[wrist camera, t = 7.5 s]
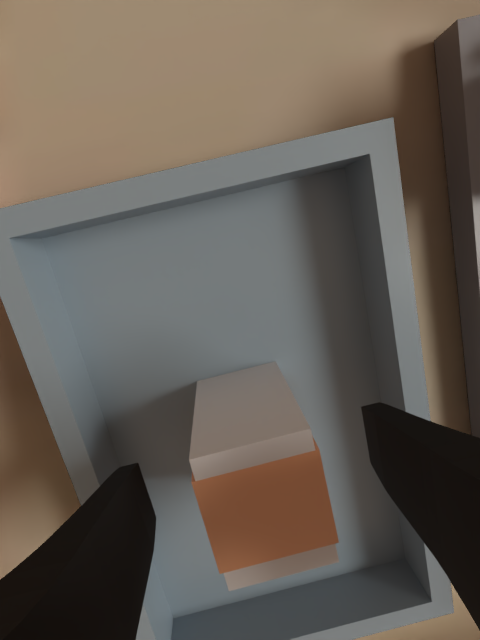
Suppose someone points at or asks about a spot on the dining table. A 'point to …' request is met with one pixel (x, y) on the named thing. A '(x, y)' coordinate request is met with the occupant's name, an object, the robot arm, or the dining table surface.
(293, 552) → the fuse marked
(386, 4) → the dining table surface
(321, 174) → the tray
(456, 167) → the block
